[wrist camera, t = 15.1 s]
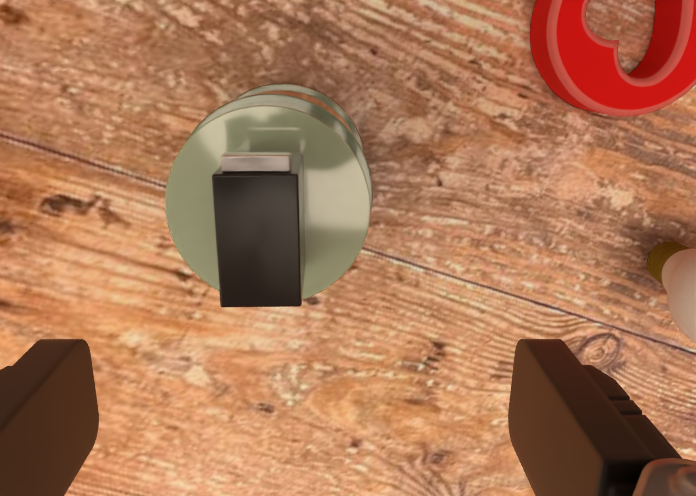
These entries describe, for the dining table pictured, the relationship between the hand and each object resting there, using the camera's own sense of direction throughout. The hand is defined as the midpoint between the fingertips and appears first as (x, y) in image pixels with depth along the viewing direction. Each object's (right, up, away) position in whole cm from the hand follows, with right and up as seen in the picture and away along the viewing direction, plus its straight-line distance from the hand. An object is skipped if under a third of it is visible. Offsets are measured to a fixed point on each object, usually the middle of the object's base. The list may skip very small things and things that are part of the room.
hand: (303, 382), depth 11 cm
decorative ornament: (+16, +15, +23) cm, 32 cm away
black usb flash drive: (-3, +4, +14) cm, 15 cm away
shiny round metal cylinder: (-3, +8, +25) cm, 26 cm away
